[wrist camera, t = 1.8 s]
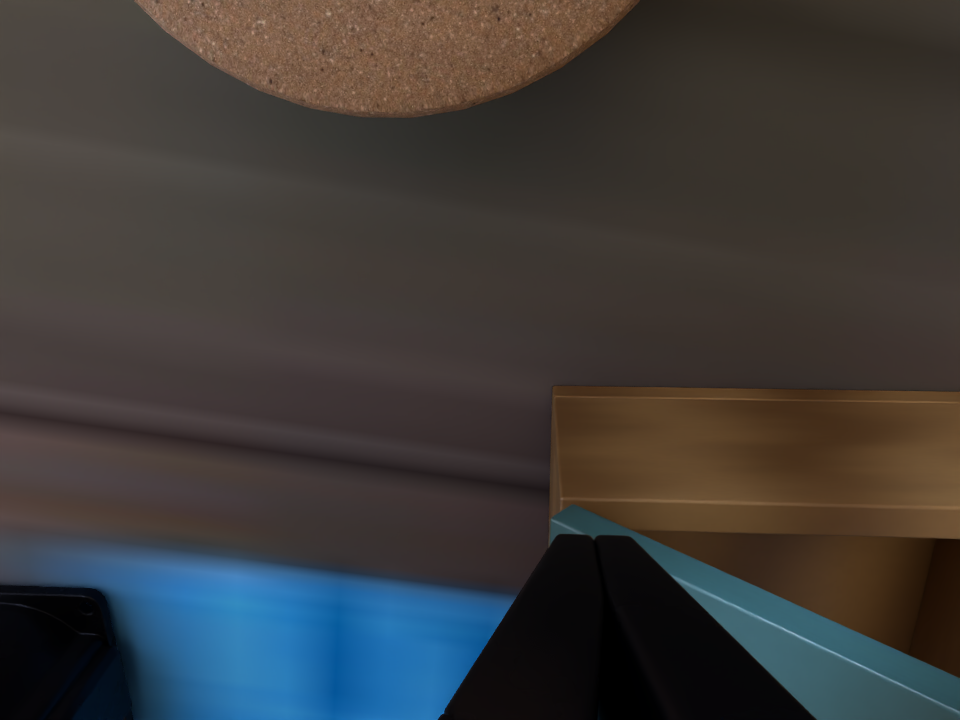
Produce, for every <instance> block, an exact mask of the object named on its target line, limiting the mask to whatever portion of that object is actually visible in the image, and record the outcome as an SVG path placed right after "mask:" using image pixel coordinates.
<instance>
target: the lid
mask: <svg viewBox="0 0 960 720" xmlns="http://www.w3.org/2000/svg"><path fill="white" fill-rule="evenodd" d="M558 534H588V535H590V536H592V538H593V539H595V537H596V536H598V535H627V536H630V537H632V538H633V539H634V540H635V541H636V542H637V543H638V544H639V545H640V546H641V547H642V548H643V549H644V550H645V551H646V552H647V553H648V554H649V555H650V556H651V557H652V558H653V559H655V560H656V561H657V562H658V563H659V564H660V565H661V566H662V567H663V568H664V569H665V570H666V571H667V572H668V573H669V574H670V575H671V576H672V577H673V578H674V579H675V580H676V581H677V582H678V583H679V584H680V585H681V586H682V587H683V588H684V589H685V590H686V591H687V592H688V593H689V594H690V595H691V596H692V597H693V598H694V599H695V600H696V601H697V602H698V603H699V604H700V605H701V606H702V607H703V608H704V609H705V610H706V611H707V612H708V613H709V614H710V615H711V616H712V617H713V618H714V619H715V620H716V621H717V622H718V623H719V624H720V625H722V626H723V627H724V628H725V629H726V630H727V631H728V632H729V633H730V634H731V635H732V636H733V637H734V638H735V639H736V640H737V641H738V642H739V643H740V644H741V645H742V646H743V647H744V648H745V649H746V650H747V651H748V652H749V653H750V654H751V655H752V656H753V657H754V658H755V659H756V660H757V661H758V662H759V663H760V664H761V665H762V666H763V667H764V668H765V669H766V670H767V671H768V672H769V673H770V674H771V675H772V676H773V677H774V678H775V679H776V680H777V681H778V682H779V683H780V684H781V685H782V686H783V687H784V688H785V689H786V690H788V691H789V692H790V693H791V694H792V695H793V696H794V697H795V698H796V699H797V700H798V701H799V702H800V703H801V704H802V705H803V706H804V707H805V708H806V709H807V710H808V711H809V712H810V713H811V714H812V715H813V716H814V717H815V718H816V719H817V720H960V678H958V677H956V676H954V675H952V674H949V673H947V672H945V671H943V670H941V669H938V668H936V667H934V666H932V665H929V664H927V663H925V662H923V661H921V660H918V659H916V658H914V657H912V656H910V655H907V654H905V653H903V652H901V651H898V650H896V649H894V648H892V647H890V646H887V645H885V644H883V643H881V642H878V641H876V640H874V639H872V638H870V637H867V636H865V635H863V634H861V633H859V632H856V631H854V630H852V629H850V628H847V627H845V626H843V625H841V624H839V623H836V622H834V621H832V620H830V619H828V618H825V617H823V616H821V615H819V614H816V613H814V612H812V611H810V610H808V609H805V608H803V607H801V606H799V605H797V604H794V603H792V602H790V601H788V600H785V599H783V598H781V597H779V596H777V595H774V594H772V593H770V592H768V591H765V590H763V589H761V588H759V587H757V586H754V585H752V584H750V583H748V582H746V581H743V580H741V579H739V578H737V577H734V576H732V575H730V574H728V573H726V572H723V571H721V570H719V569H717V568H715V567H712V566H710V565H708V564H706V563H703V562H701V561H699V560H697V559H695V558H692V557H690V556H688V555H686V554H683V553H681V552H679V551H677V550H675V549H672V548H670V547H668V546H666V545H664V544H661V543H659V542H657V541H655V540H652V539H650V538H648V537H646V536H644V535H641V534H639V533H637V532H635V531H633V530H630V529H628V528H626V527H624V526H621V525H619V524H617V523H615V522H613V521H610V520H608V519H606V518H604V517H602V516H599V515H597V514H595V513H593V512H590V511H588V510H586V509H584V508H582V507H579V506H577V505H575V504H571V505H570V506H568V507H567V508H565V509H564V510H562V511H561V512H559V513H557V514H556V515H554V516H553V517H552V518H551V520H550V544H551V543H552V541H553V540H554V538H555V537H556V536H557V535H558Z"/></svg>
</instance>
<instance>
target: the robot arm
mask: <svg viewBox="0 0 960 720" xmlns="http://www.w3.org/2000/svg"><path fill="white" fill-rule="evenodd" d="M87 603H89V604H90V605H92V606H89V605H88V604H87ZM0 720H133V715H132V711H131V700H130V695H129V691H128V686H127V682H126V677H125V673H124V669H123V664H122V660H121V655H120V652H119V651H118V649H117V645H116V640H115V636H114V632H113V627H112V623H111V618H110V614H109V610H108V605H107V601H106V599H105V596H104V595H103V594H102V593H101V592H99V591H97V590H95V589H91V588H66V587H35V586H4V585H0ZM438 720H817V719H816V718H815V717H814V716H813V715H812V714H811V713H810V712H809V711H808V710H807V709H806V708H805V707H804V706H803V705H802V704H801V703H800V702H799V701H798V700H797V699H796V698H795V697H794V696H793V695H792V694H791V693H790V692H789V691H788V690H786V689H785V688H784V687H783V686H782V685H781V684H780V683H779V682H778V681H777V680H776V679H775V678H774V677H773V676H772V675H771V674H770V673H769V672H768V671H767V670H766V669H765V668H764V667H763V666H762V665H761V664H760V663H759V662H758V661H757V660H756V659H755V658H754V657H753V656H752V655H751V654H750V653H749V652H748V651H747V650H746V649H745V648H744V647H743V646H742V645H741V644H740V643H739V642H738V641H737V640H736V639H735V638H734V637H733V636H732V635H731V634H730V633H729V632H728V631H727V630H726V629H725V628H724V627H723V626H722V625H720V624H719V623H718V622H717V621H716V620H715V619H714V618H713V617H712V616H711V615H710V614H709V613H708V612H707V611H706V610H705V609H704V608H703V607H702V606H701V605H700V604H699V603H698V602H697V601H696V600H695V599H694V598H693V597H692V596H691V595H690V594H689V593H688V592H687V591H686V590H685V589H684V588H683V587H682V586H681V585H680V584H679V583H678V582H677V581H676V580H675V579H674V578H673V577H672V576H671V575H670V574H669V573H668V572H667V571H666V570H665V569H664V568H663V567H662V566H661V565H660V564H659V563H658V562H657V561H656V560H655V559H653V558H652V557H651V556H650V555H649V554H648V553H647V552H646V551H645V550H644V549H643V548H642V547H641V546H640V545H639V544H638V543H637V542H636V541H635V540H634V539H633V538H632V537H630V536H627V535H598V536H596V537H595V539H593V538H592V536H590V535H588V534H558V535H557V536H556V537H555V538H554V540H553V541H552V543H551V544H550V546H549V548H548V549H547V551H546V552H545V554H544V555H543V557H542V558H541V560H540V562H539V563H538V565H537V566H536V568H535V569H534V571H533V572H532V574H531V576H530V577H529V579H528V580H527V582H526V583H525V585H524V587H523V588H522V590H521V591H520V593H519V594H518V596H517V597H516V599H515V601H514V602H513V604H512V605H511V607H510V608H509V610H508V611H507V613H506V615H505V616H504V618H503V619H502V621H501V622H500V624H499V626H498V627H497V629H496V630H495V632H494V633H493V635H492V636H491V638H490V640H489V641H488V643H487V644H486V646H485V647H484V649H483V650H482V652H481V654H480V655H479V657H478V658H477V660H476V661H475V663H474V665H473V666H472V668H471V669H470V671H469V672H468V674H467V675H466V677H465V679H464V680H463V682H462V683H461V685H460V686H459V688H458V690H457V691H456V693H455V694H454V696H453V697H452V699H451V700H450V702H449V704H448V705H447V707H446V708H445V711H444V714H442V715H441V716H440V717H439V718H438Z"/></svg>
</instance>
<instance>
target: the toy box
mask: <svg viewBox="0 0 960 720" xmlns="http://www.w3.org/2000/svg"><path fill="white" fill-rule="evenodd" d="M571 504H575V505H577V506H579V507H582V508H584V509H586V510H588V511H590V512H593V513H595V514H597V515H599V516H602V517H604V518H606V519H608V520H610V521H613V522H615V523H617V524H619V525H621V526H624V527H626V528H628V529H630V530H633V531H635V532H637V533H639V534H641V535H644V536H646V537H648V538H650V539H652V540H655V541H657V542H659V543H661V544H664V545H666V546H668V547H670V548H672V549H675V550H677V551H679V552H681V553H683V554H686V555H688V556H690V557H692V558H695V559H697V560H699V561H701V562H703V563H706V564H708V565H710V566H712V567H715V568H717V569H719V570H721V571H723V572H726V573H728V574H730V575H732V576H734V577H737V578H739V579H741V580H743V581H746V582H748V583H750V584H752V585H754V586H757V587H759V588H761V589H763V590H765V591H768V592H770V593H772V594H774V595H777V596H779V597H781V598H783V599H785V600H788V601H790V602H792V603H794V604H797V605H799V606H801V607H803V608H805V609H808V610H810V611H812V612H814V613H816V614H819V615H821V616H823V617H825V618H828V619H830V620H832V621H834V622H836V623H839V624H841V625H843V626H845V627H847V628H850V629H852V630H854V631H856V632H859V633H861V634H863V635H865V636H867V637H870V638H872V639H874V640H876V641H878V642H881V643H883V644H885V645H887V646H890V647H892V648H894V649H896V650H898V651H901V652H903V653H905V654H907V655H910V656H912V657H914V658H916V659H918V660H921V661H923V662H925V663H927V664H929V665H932V666H934V667H936V668H938V669H941V670H943V671H945V672H947V673H949V674H952V675H954V676H956V677H958V678H960V392H939V391H872V390H805V389H739V388H672V387H605V386H553V388H552V422H551V460H550V498H549V535H548V548H549V546H550V520H551V518H552V517H553V516H554V515H556V514H557V513H559V512H561V511H562V510H564V509H565V508H567V507H568V506H570V505H571Z"/></svg>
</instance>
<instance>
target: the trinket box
mask: <svg viewBox="0 0 960 720" xmlns="http://www.w3.org/2000/svg"><path fill="white" fill-rule="evenodd" d="M134 1H135V2H136V3H137V4H138V5H139V6H140V7H141V8H142V9H143V10H144V11H145V12H146V13H147V14H148V15H149V16H150V17H151V18H152V19H153V20H154V21H155V22H156V23H157V24H159V25H160V26H161V27H162V28H163V29H164V30H165V31H166V32H167V33H168V34H170V35H171V36H173V37H174V38H175V39H177V40H178V41H179V42H181V43H182V44H183V45H185V46H186V47H187V48H189V49H190V50H191V51H193V52H194V53H196V54H197V55H198V56H200V57H201V58H202V59H204V60H205V61H206V62H208V63H209V64H210V65H212V66H214V67H216V68H218V69H220V70H221V71H223V72H225V73H227V74H229V75H231V76H233V77H235V78H236V79H238V80H240V81H242V82H244V83H246V84H248V85H250V86H252V87H253V88H255V89H257V90H259V91H262V92H265V93H267V94H270V95H273V96H276V97H279V98H282V99H285V100H288V101H290V102H293V103H296V104H299V105H302V106H305V107H308V108H312V109H317V110H323V111H329V112H334V113H340V114H345V115H351V116H357V117H392V118H413V117H420V116H426V115H432V114H439V113H445V112H451V111H458V110H463V109H466V108H469V107H472V106H475V105H479V104H482V103H485V102H488V101H491V100H494V99H497V98H500V97H503V96H506V95H509V94H512V93H514V92H516V91H518V90H520V89H522V88H524V87H526V86H527V85H529V84H531V83H533V82H535V81H537V80H539V79H541V78H543V77H545V76H546V75H548V74H550V73H552V72H554V71H556V70H558V69H560V68H562V67H563V66H564V65H566V64H567V63H568V62H570V61H571V60H572V59H574V58H575V57H576V56H578V55H579V54H580V53H582V52H583V51H585V50H586V49H587V48H589V47H590V46H591V45H593V44H594V43H595V42H597V41H598V40H599V39H601V38H602V37H603V36H605V35H606V34H607V33H608V32H609V31H610V30H611V29H612V28H613V27H614V26H615V25H616V24H617V23H618V22H619V21H620V20H621V19H622V18H623V17H624V16H625V15H626V14H627V13H628V12H629V11H630V10H631V9H632V8H633V7H634V6H635V5H636V4H637V3H638V2H639V1H640V0H134Z"/></svg>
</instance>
